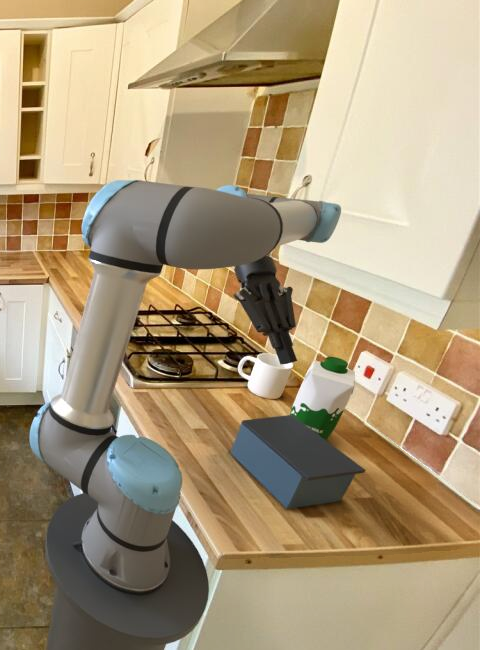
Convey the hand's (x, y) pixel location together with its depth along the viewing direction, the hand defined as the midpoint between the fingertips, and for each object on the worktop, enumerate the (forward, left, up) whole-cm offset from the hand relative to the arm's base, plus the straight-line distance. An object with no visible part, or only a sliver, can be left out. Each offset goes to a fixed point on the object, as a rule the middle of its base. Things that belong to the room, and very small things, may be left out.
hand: (288, 362), depth 86 cm
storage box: (0, -8, -24) cm, 25 cm away
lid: (0, -8, -15) cm, 17 cm away
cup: (+20, +22, -24) cm, 39 cm away
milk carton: (+17, +3, -24) cm, 30 cm away
